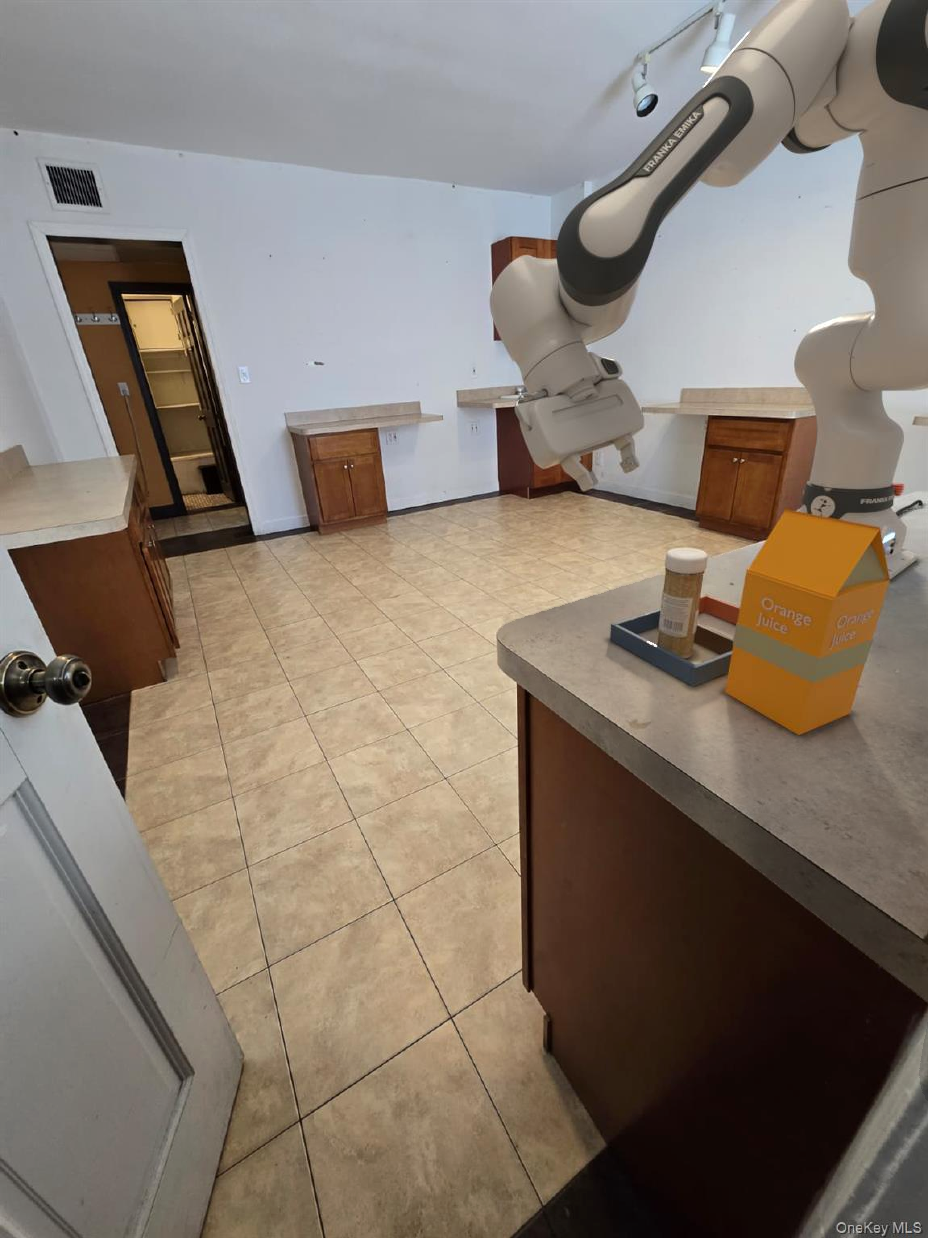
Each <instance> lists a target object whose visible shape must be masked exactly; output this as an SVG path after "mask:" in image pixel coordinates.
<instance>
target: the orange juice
mask: <svg viewBox="0 0 928 1238" xmlns="http://www.w3.org/2000/svg"><path fill="white" fill-rule="evenodd" d="M890 582H891V579H890V578H889V573H888V568H887V563H886V557H885V552H884V547H883V542H882V537H881V532H880V527H875V526H870V525H865V524H859V523H854V522H849V521H844V520H839V519H833V518H828V517H823V516H818V515H813V514H808V513H802V512H797V510H792V509H786V508H785V509H784V511H783V513H782V515H781V516H780V518H779V519H778V521H777V523H776V524H775V526H774V527H773V528H772V529H771V532H770V534H769V535H768V536H767V538H766V540H765V542H764V543H763V545H762V546H761V548H760V549H759V551H758V553H757V554H756V556H755V557H754V559H753V561H752V562H751V564H750V565H749V566H748V568H746V570H745V577H744V583H743V588H742V594H741V599H740V604H739V605H740V606H739V607H740V611H739V616H738V622H737V624H735V629H734V630H735V631H734V636H733V639H734V641H733V650H732V656H731V662H730V667H729V673H727V680H726V684H725V690H724V693H725V694H726V695H728V696H730V697H732V698H734V699H736V700H737V701H738V702H741V703H742V704H744V705H746V706H747V707H749V708H751V709H753V710H754V711H756V712H758V713H759V714H761V715H763V716H764V717H767V718H768V719H770V720H772V721H773V722H775V723H777V724H778V725H781V726H782V727H784V728H785V729H787V730H789V731H790V732H793V733H794V734H795V735H797V736H800V735H803V734H805V733H807V732H810V731H812V730H814V729H817V728H820V727H822V726H824V725H827V724H829V723H831V722H834V721H835V720H838V719H841V718H843V717H845V716H847V715H850V714H851V710H852V707H853V705H854V700H855V698H856V695H857V690H858V687H859V684H860V681H861V677H862V675H863V672H864V667H865V664H866V663H867V661H868V657H869V654H870V650H871V647H872V645H873V640H874V639H873V638H874V634H875V632H876V627H877V625H878V622H879V618H880V615H881V612H882V608H883V604H884V601H885V599H886V595H887V591H888V588H889V585H890Z"/></svg>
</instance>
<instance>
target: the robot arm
mask: <svg viewBox="0 0 928 1238" xmlns="http://www.w3.org/2000/svg"><path fill="white" fill-rule="evenodd" d="M856 135H857V136H858V138H859V140H860V144H861V147H862V152H863V153H862V154H863V157H862V161H861V165H860V170H859V176H858V180H857V185H856V192H855V199H854V207H853V215H852V221H851V222H852V223H851V229H850V231H851V232H850V239H849V248H848V249H849V250H848V255H847V266H848V270H849V272H850V273H851V274H852V275H853V276H854V277H855V278H857V279H859V280H861V281H863V282H865V284H867V286H868V287H869V289H870V291H871V294H872V297H873V302H874V303H873V304H874V310H869V311H863V312H856V313H850V314H845V315H842V316H839V317H837V318H833V319H831V320H828V321H826V322H823V323H821V324H818V325H816V326H815V327H813V328H811V329H810V330H809V331H807V333H806V334H805V335H804V336H803V338H802V339H801V341H800V342H799V345H798V347H797V349H796V352H795V355H794V363H793V365H794V373H795V376H796V379H797V380H798V381H799V382H800V384H801V385H803V387H804V388H805V389H806V390H807V392H808V394H809V396H810V398H811V400H812V404H813V408H814V412H815V419H816V428H817V429H816V431H817V432H816V443H815V449H814V454H813V461H812V465H811V472H810V475H809V480H807V481H806V482H805V486H804V488H803V491H802V497H801V503H802V504H803V505H802V506H800V508H797V510H796V511H797V512H802V513H808V514H813V515H818V516H823V517H828V518H833V519H839V520H844V521H849V522H854V523H859V524H865V525H870V526H875V527H880V532H881V537H882V542H883V547H884V552H885V557H886V563H887V568H888V573H889V578H890V580H892V579H893V578H895V577H896V576H897V575H899V574H900V573H901V572H903V571H904V570H906V569H907V568H908V567H909V566H910V565H912V564H913V563H915V561H917V558H918V554H917V553H915V552H913V551H910V550H908V549H904V547H903V546H904V543H905V539H906V535H907V529H908V528H907V525H906V524H905V523H904V521H902V519H901V518H900V517H899V515H900V514H902V513H903V512H904V511H907V510H909V509H911V508H913V507H915V506H916V505H918V506H923V505H924V502H923V500H921V499H917V500H915V501H914V502H912V503H911V504H908V505H906V506H904V507H902V508H900V509H898V510H897V511H896V512H895V511H894V510H893V508H892V507H893V506H894V499H895V498H896V497H900V496H901V495H902V494H903V493H904V490H905V484H904V483H894V482H893V480H894V477H895V474H896V470H897V467H898V463H899V460H900V456H901V452H902V449H903V446H904V441H905V434H904V430H903V428H902V427H901V425H900V424H899V423H897V421H895V420H894V419H892V418H891V417H890V416H889V415H888V414H887V411H886V409H885V407H884V403H883V401H884V400H883V392H903V391H904V392H908V391H910V392H911V391H912V392H913V391H914V392H916V391H921V390H927V389H928V0H873V1H872V2H871V3H870V4H868V5H866V6H865V7H863V8H862V9H861V10H859V11H858V12H857V13H855V14H854V15H853V16H850V10H849V5H848V2H847V0H780V1H779V2H778V3H776V4H775V5H774V6H773V7H772V8H771V9H769V11H768V12H767V13H766V14H765V15H763V17H761V18H760V19H759V21H758V22H757V23H756V24H755V25H754V26H753V27H752V28H751V29H750V30H749V31H748V32H747V33H746V34H745V35H744V37H743V38H742V39H741V40H740V41H739V42H738V43H737V44H736V46H735V47H734V48H733V49H732V50H731V51H730V53H729V54H728V55H727V56H726V57H725V59H724V60H723V61H722V62H721V64H720V65H719V66H718V68H717V69H716V70H715V71H714V73H713V74H712V75H711V77H709V79H708V81H707V82H705V85H703V87H702V88H701V89H700V90H699V91H697V92H696V93H695V94H694V95H693V96H692V97H691V98H690V99H689V100H688V101H687V103H685V104H684V105H683V106H682V107H681V109H680V110H679V111H678V112H677V113H676V114H675V115H674V116H673V118H672V119H671V120H670V121H669V122H668V123H667V124H666V125H665V126H664V128H662V129H661V131H660V132H659V133H658V134H657V135H656V136H655V137H654V139H652V141H651V142H650V143H649V144H648V145H647V146H646V148H644V149H643V150H642V152H641V153H640V154H639V155H638V156H637V158H635V160H634V161H632V163H630V165H629V166H628V167H627V168H626V169H625V170H624V171H623V172H622V173H620V175H618V176H617V177H616V178H614V179H613V180H612V181H610V182H609V183H607V184H605V185H603V186H602V187H601V188H599V189H597V190H596V191H594V192H592V193H591V194H589V195H587V196H586V197H585V198H583V199H582V200H581V201H579V203H577V204H576V205H575V206H574V207H573V208H572V209H571V211H570V212H569V213H568V215H567V217H565V218H564V221H563V222H562V224H561V227H560V229H559V232H558V236H557V240H556V244H555V245H556V247H555V256H556V257H555V258H539V257H535V256H532V255H529V254H523V255H521V256H518V257H517V258H515V259H514V260H512V261H511V262H509V263H508V264H507V265H506V266H505V267H504V268H503V269H502V270H501V272H500V273H499V274H498V276H497V278H496V280H495V281H494V282H493V283H494V284H493V285H492V286H491V290H490V295H489V310H490V314H491V317H492V318H491V319H492V321H493V324H494V326H495V328H496V331H497V333H498V335H499V337H500V340H501V343H502V344H503V346H504V348H505V350H506V352H507V354H508V356H509V357H510V359H511V360H512V361H514V362H515V364H516V365H517V367H518V368H519V371H520V374H521V380H522V382H523V385H524V386H525V389H526V390H527V392H528V393H524V394H523V393H522V394H521V395H519V396H518V397H517V400H516V402H515V404H514V412H515V415H516V417H517V419H518V421H519V427H520V431H521V434H522V436H523V439H524V442H525V445H526V448H527V450H528V452H529V454H530V456H531V458H532V461H533V462H534V464H535V465H536V466H538V467H539V468H541V469H543V470H545V469H549V468H551V467H554V466H557V465H559V464H560V466H561V468H562V470H563V472H564V473H566V474H567V475H568V476H570V477H571V478H572V479H573V480H575V481H576V483H577V484H578V486H579V488H580V490H581V491H582V492H586V491H589V490H591V489H593V488H594V487H596V486H597V485H598V484H599V480H598V478H597V477H596V474H595V472H594V471H593V470H591V471H589V470H588V469H587V468H586V467H585V466H584V465H583V464H582V463H581V461H582V457H583V456H585V455H587V454H591V453H592V452H596V451H599V450H602V449H604V448H606V447H610V446H612V445H613V446H614V448H616V451H619V452H620V453H619V454H620V458H621V461H620V462H619V466H620V468H621V469H622V471H623V473H624V474H629V473H632V472H633V471H635V470H637V469H639V468H640V462H639V459H638V458H637V455H636V444H635V439H634V437H633V436H634V435H636V434H638V433H639V432H641V431H642V430H643V429H644V428H645V417H644V414H643V411H642V409H641V406H640V405H639V403H638V401H637V399H636V396H635V394H634V393H633V391H632V389H631V388H630V386H629V385H628V383H627V382H626V381H625V380H624V379H622V378H620V377H621V376H622V375H623V373H624V370H623V368H622V366H621V364H620V362H619V361H617V360H616V359H611V358H608V357H604V356H601V355H599V354H597V353H595V352H593V351H588V348H587V347H586V346H589V345H591V344H593V343H595V342H598V341H600V340H602V339H604V338H606V337H609V336H611V335H612V334H614V333H615V332H616V331H618V330H619V329H620V328H621V327H622V326H624V324H625V322H626V321H627V319H628V317H629V315H630V313H631V311H632V309H633V306H634V304H635V300H636V296H637V294H638V290H639V289H638V288H639V285H640V281H641V279H642V275H643V272H644V268H645V267H646V264H647V262H648V260H649V257H650V254H651V252H652V248H653V245H654V242H655V239H656V235H657V233H658V231H659V229H660V227H661V225H662V224H663V222H664V221H665V220H666V218H668V217H669V215H670V214H671V213H672V212H673V211H674V210H675V209H676V208H677V206H678V205H679V204H680V203H681V202H682V201H683V200H684V199H685V197H687V195H688V194H689V193H690V192H691V191H692V190H693V188H695V187H696V185H697V184H698V183H699V182H700V183H702V184H703V185H705V186H709V187H711V188H719V189H721V188H722V189H723V188H730V187H734V186H737V185H738V184H740V183H741V182H742V181H743V180H744V179H746V178H747V177H748V176H749V175H750V174H752V173H753V172H754V171H755V170H756V169H757V168H758V167H759V166H760V165H762V164H763V163H764V161H765V160H767V159H768V157H770V155H772V153H773V152H774V151H775V149H776V148H777V147H778V146H779V145H780V144H781V145H782V146H783V147H784V148H785V149H786V150H787V151H789V152H791V153H792V154H799V155H805V154H811V153H816V152H820V151H823V150H825V149H827V148H829V147H830V146H832V145H833V144H835V143H838V142H841V141H843V140H847V139H849V138H851V137H853V136H856Z"/></svg>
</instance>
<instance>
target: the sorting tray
mask: <svg viewBox="0 0 928 1238" xmlns="http://www.w3.org/2000/svg"><path fill="white" fill-rule="evenodd" d="M660 611H661V608H657V609H655V610H651V611H648V612H645V613H642V614H639V615H635V616H632V617H629V618H626V619H622V620H619V621H616V622H613V623H611V624H610V631H609V633H610V635H609V641H611V642H613V643H614V644H616V645H618V646H620V647H622V648H623V649H625V650H627V651H629V652H630V653H632V654H633V655H635V656H637V657H639V658H640V659H642V660H644V661H646V662H648V663H650V664H652V665H653V666H655V667H657V668H659V669H661V670H662V671H664V672H666V673H668V674H669V675H671V676H673V677H675V678H677V679H678V680H680V681H681V682H684V683H685V684H687V685H690V686H691V687H694V688H695V687H696V686H699V685H702V684H703V683H706V682H708V681H711V680H713V679H716V678H719V677H721V676H723V675H726V674H728V673H729V667H730V662H731V656H732V650H733V641H734V637H733V638H732V637H730V636H728V635H726V634H723V633H721V632H719V631H716V630H714V629H712V628H710V627H707V626H705V625H702V624H700V623H699V622H697V627H696V632H695V636H694V643H695V644H698V645H700V646H702V647H704V648H706V649H708V650H711V651H712V652H715V653H717V654H719V655H717V656H715V657H712V658H709V659H707V660H704V661H701V662H699V663H696V664H695V663H693V662H691V661H689V660H687V659H683V658H681V657H679V656H677V655H676V654H674V653H672V652H670V651H668V650H666V649H664V648H662V647H660V646H658V645H657V643H655V642H652V641H650V640H648V639H646V638H644V637H643V636H641V635H638V634H640V633H643V632H647V631H649V630H652V629H655V628H659V619H660ZM739 611H740V606H739V605H735V604H733V603H730V602H729V601H728V602H727V601H725V600H722V599H719V598H717V597H715V596H711V595H709V594H703V595H700V602H699V613H698V615H699V614H701V613H706V614H709V615H711V616H714V617H716V618H719V619H721V620H723V621H726V622H729V623H731V624H734V625H736V624H737V622H738V616H739Z"/></svg>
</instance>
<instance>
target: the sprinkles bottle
mask: <svg viewBox="0 0 928 1238" xmlns="http://www.w3.org/2000/svg"><path fill="white" fill-rule="evenodd" d="M708 558H709V556H708V553H707V552H705V551H704V550H702V549H700V548H699V549H698V548H693V547H676V548H675V547H674V548H671V549H669V550H668V551H666V554H665V559H664V567H665V568H664V570H665V573H664V581H663V588H662V593H661V603H660V609H661V611H660V619H659V627H658V635H657V642H656V645H658V646H660V647H662V648H664V649H666V650H668V651H670V652H672V653H674V654H676V655H677V656H679V657H681V658H683V659H685V660H687V659H689V658H691V657H692V655H693V654H694V643H695V642H694V636H695V632H696V627H697V623H698V619H699V614H700V613H699V602H700V596H702V594H701V593H702V589H703V581H704V574H705V572H706V570H707V566H708ZM698 613H699V614H698Z"/></svg>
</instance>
